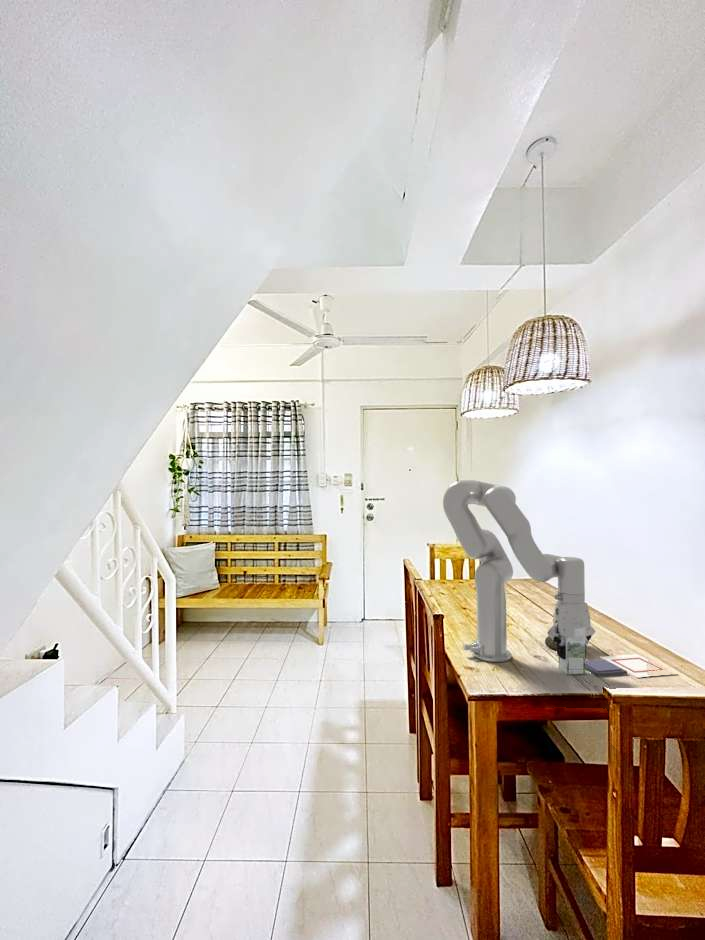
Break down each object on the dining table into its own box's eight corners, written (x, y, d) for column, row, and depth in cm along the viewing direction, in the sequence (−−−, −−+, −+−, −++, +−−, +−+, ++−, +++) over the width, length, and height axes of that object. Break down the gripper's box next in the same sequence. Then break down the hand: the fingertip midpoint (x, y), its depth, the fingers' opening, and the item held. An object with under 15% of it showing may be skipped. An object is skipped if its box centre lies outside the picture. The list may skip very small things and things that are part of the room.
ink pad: (597, 676, 147) (597, 672, 147) (576, 664, 157) (576, 660, 157) (626, 674, 149) (626, 670, 149) (604, 662, 159) (604, 658, 159)
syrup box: (576, 667, 154) (576, 621, 155) (585, 675, 148) (585, 626, 149) (558, 668, 154) (558, 621, 154) (567, 675, 148) (566, 627, 148)
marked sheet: (637, 678, 146) (637, 676, 146) (599, 657, 163) (599, 656, 163) (678, 674, 149) (678, 673, 149) (636, 654, 165) (636, 653, 165)
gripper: (552, 602, 146) (552, 663, 146) (604, 599, 149) (605, 659, 149) (538, 596, 154) (539, 654, 153) (588, 594, 157) (589, 651, 156)
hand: (571, 656), depth 151 cm, fingers closed on syrup box, 6 cm apart
